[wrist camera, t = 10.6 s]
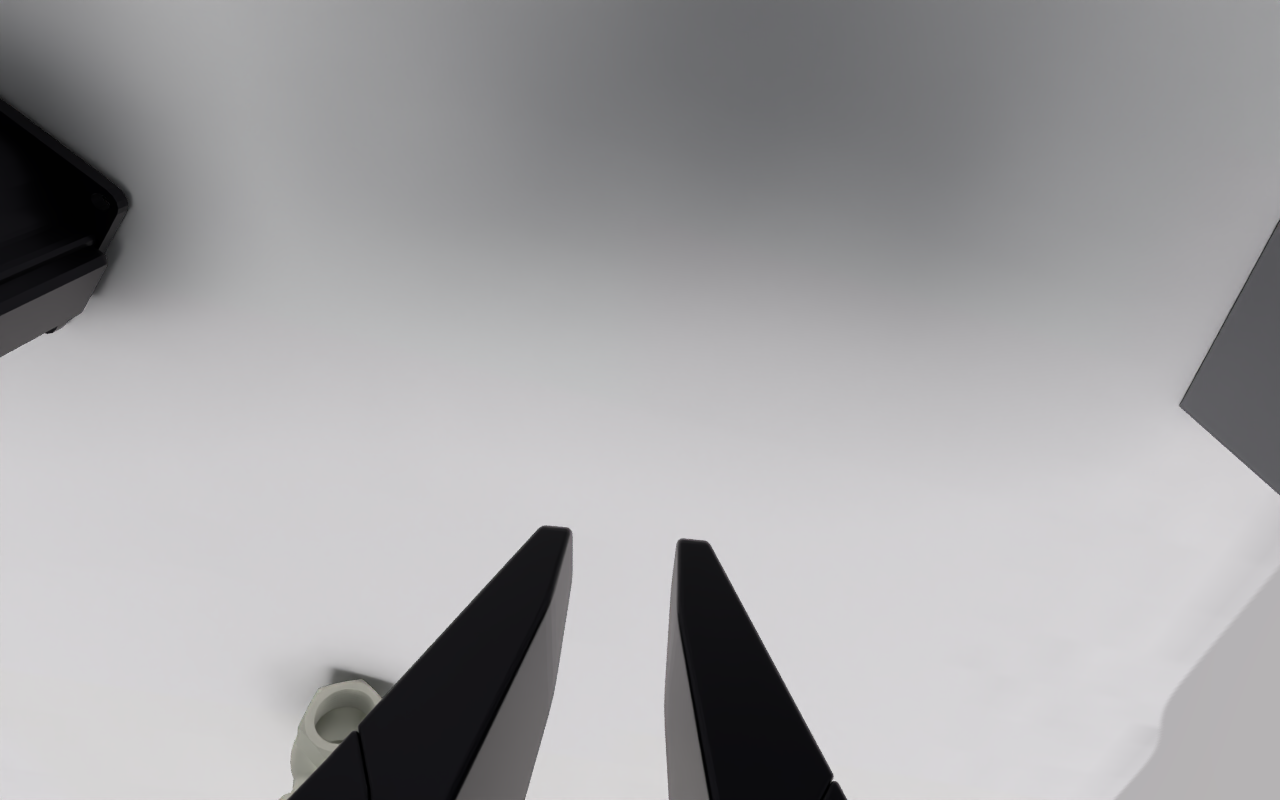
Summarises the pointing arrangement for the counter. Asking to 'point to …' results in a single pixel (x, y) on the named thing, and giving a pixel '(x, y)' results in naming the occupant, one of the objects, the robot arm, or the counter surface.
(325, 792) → the robot arm
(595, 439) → the counter surface
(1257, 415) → the side door
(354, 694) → the valve
